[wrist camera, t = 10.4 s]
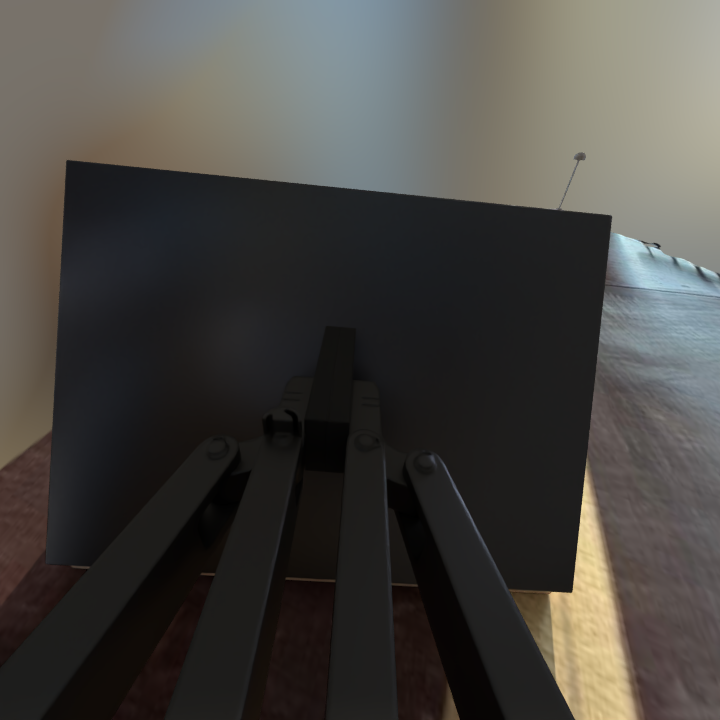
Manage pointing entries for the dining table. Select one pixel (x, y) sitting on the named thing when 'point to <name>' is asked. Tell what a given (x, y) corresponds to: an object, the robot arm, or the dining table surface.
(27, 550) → the dining table surface
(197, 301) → the laptop screen
